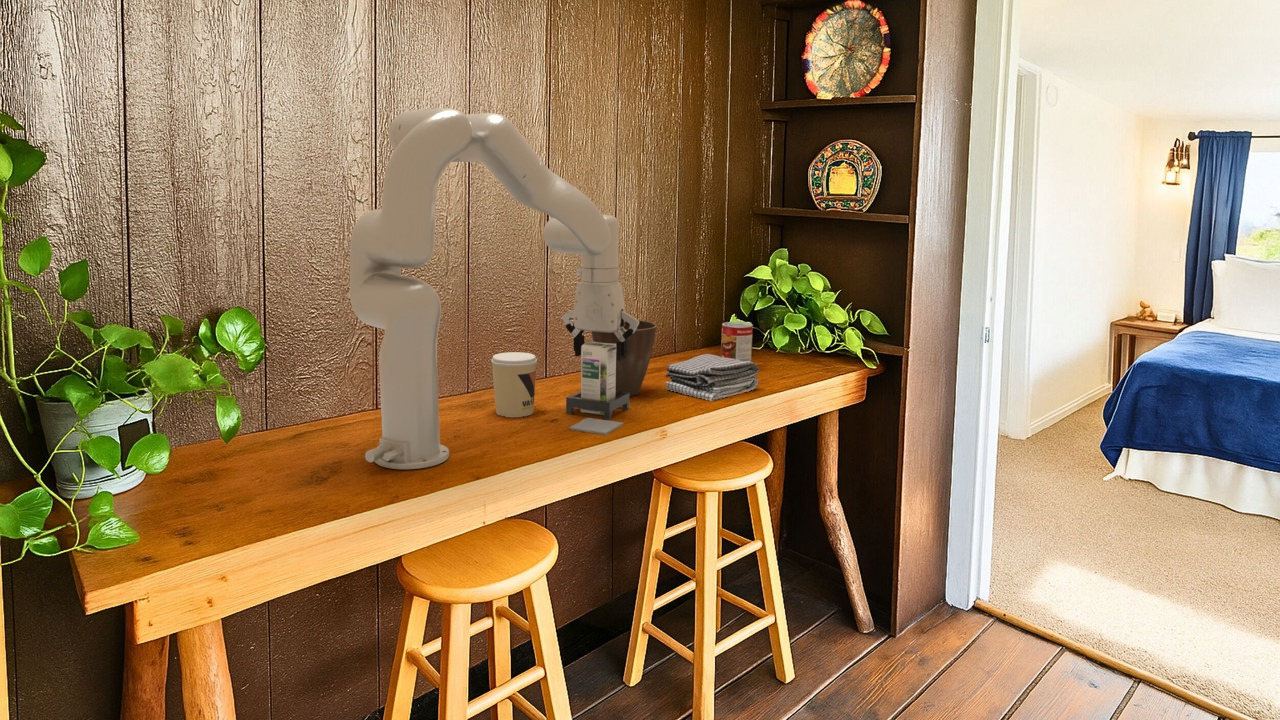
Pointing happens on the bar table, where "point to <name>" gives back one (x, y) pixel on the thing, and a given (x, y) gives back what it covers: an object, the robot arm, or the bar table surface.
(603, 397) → the syrup box
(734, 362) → the towel
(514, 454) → the bar table surface
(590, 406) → the collar stand
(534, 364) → the coffee cup
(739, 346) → the canned food
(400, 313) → the robot arm
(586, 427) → the slate mat
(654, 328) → the plant pot
